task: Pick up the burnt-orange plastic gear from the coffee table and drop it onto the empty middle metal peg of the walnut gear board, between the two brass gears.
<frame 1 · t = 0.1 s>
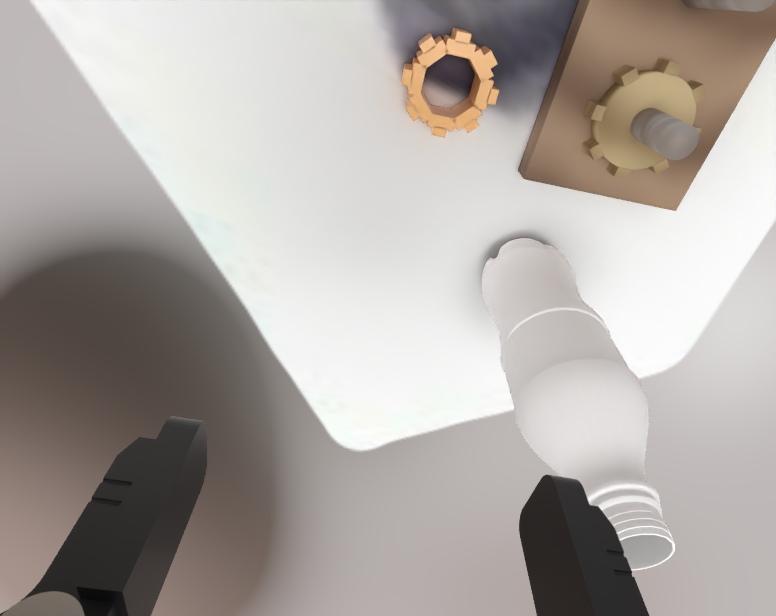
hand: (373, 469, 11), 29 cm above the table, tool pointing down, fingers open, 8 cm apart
gear: (446, 79, 33), on the table
water bottle: (518, 265, 41), on the table
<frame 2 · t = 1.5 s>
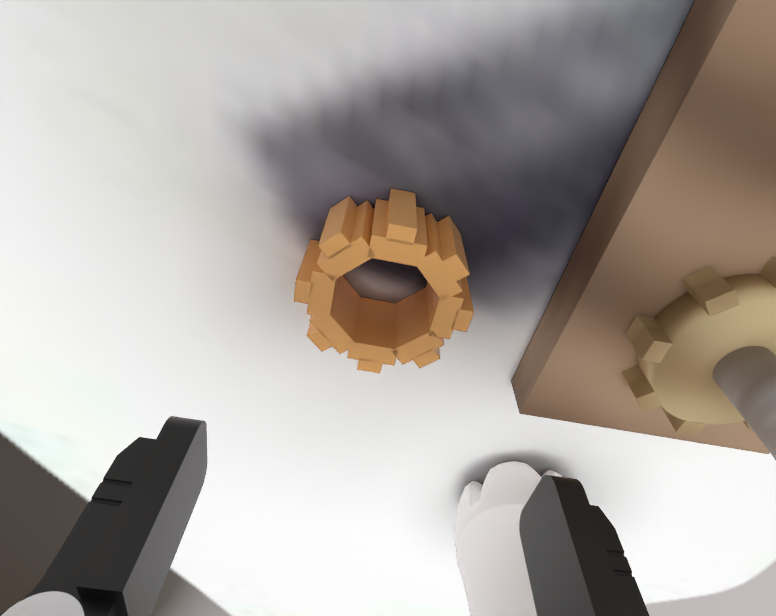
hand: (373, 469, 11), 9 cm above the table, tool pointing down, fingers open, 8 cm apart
gear: (386, 263, 19), on the table
water bottle: (512, 485, 27), on the table
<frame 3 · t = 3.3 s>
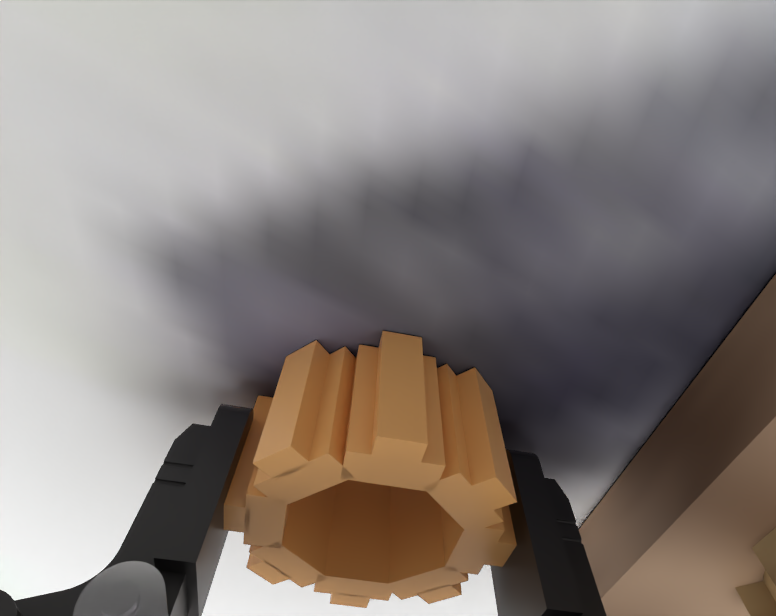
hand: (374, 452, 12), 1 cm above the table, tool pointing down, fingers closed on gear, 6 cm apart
gear: (376, 426, 12), on the table, touching gripper
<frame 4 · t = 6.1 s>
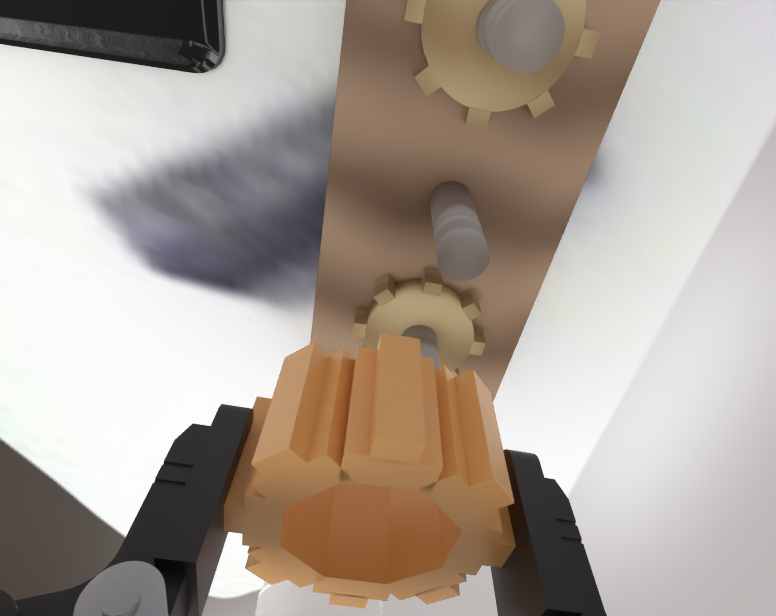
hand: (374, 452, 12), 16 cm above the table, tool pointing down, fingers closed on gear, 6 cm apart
gear: (375, 427, 12), point 16 cm above the table, touching gripper
gear board: (446, 186, 25), on the table
water bottle: (342, 441, 36), on the table
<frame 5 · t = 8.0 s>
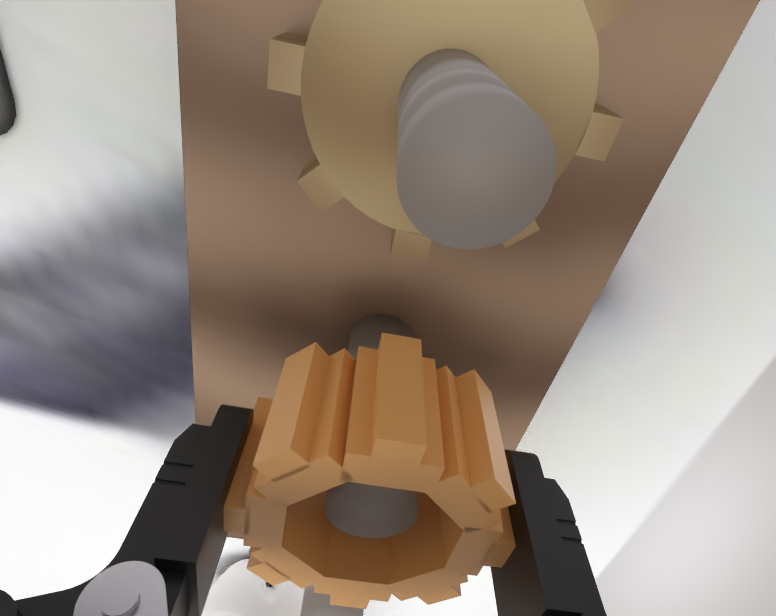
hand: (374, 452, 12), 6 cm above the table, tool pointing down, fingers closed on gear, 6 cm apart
gear: (376, 427, 12), point 5 cm above the table, touching gripper
gear board: (383, 304, 17), on the table
water bottle: (268, 576, 28), on the table
when the fingers open (4 cm above the table, at t = 9.4 s): gear drops 1 cm, resting on gear board.
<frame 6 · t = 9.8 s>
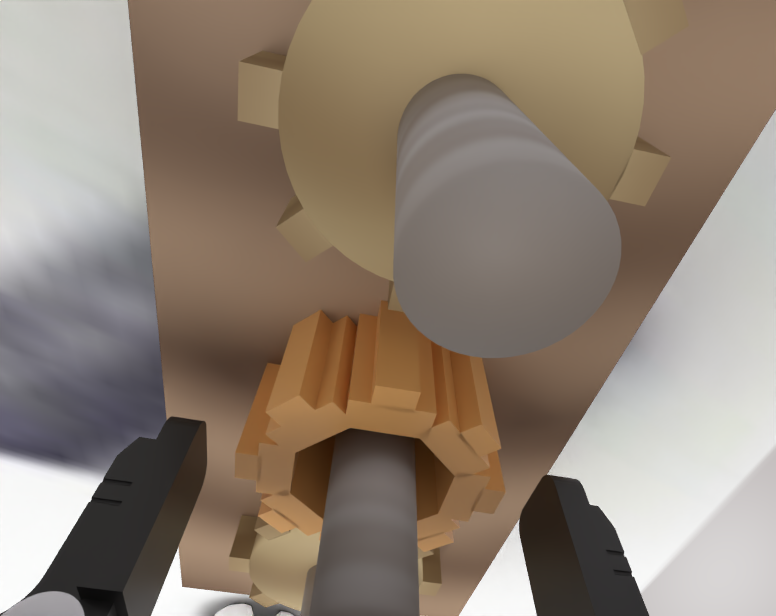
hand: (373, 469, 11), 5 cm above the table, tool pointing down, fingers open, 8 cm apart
gear: (376, 392, 13), point 2 cm above the table, touching gear board
gear board: (380, 347, 15), on the table
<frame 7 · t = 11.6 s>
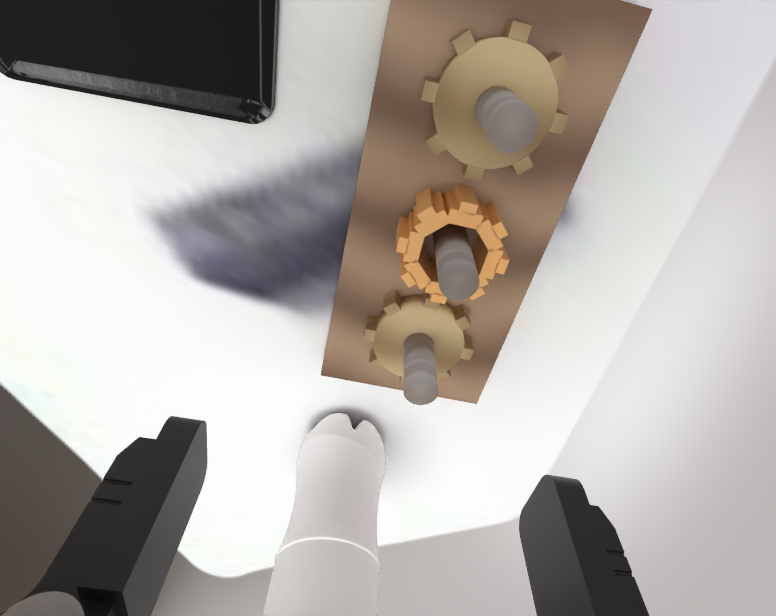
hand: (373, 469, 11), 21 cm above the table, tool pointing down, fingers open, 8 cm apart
phone: (137, 19, 25), on the table
gear: (448, 233, 28), point 2 cm above the table, touching gear board
gear board: (446, 220, 30), on the table
water bottle: (345, 432, 41), on the table
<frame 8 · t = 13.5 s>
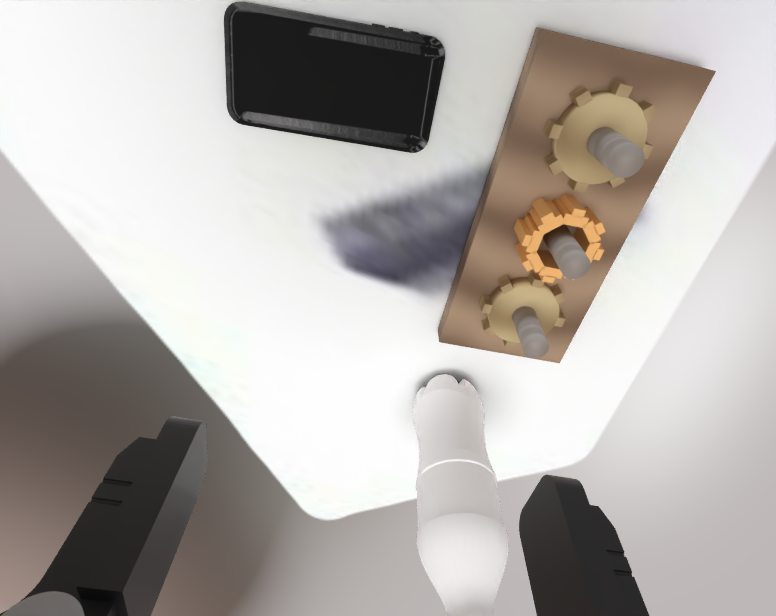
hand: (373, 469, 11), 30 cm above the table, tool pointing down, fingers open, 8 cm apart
phone: (334, 79, 34), on the table
gear: (552, 230, 38), point 2 cm above the table, touching gear board
gear board: (546, 220, 40), on the table
water bottle: (445, 390, 51), on the table
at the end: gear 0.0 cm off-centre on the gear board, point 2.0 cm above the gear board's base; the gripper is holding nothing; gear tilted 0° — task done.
